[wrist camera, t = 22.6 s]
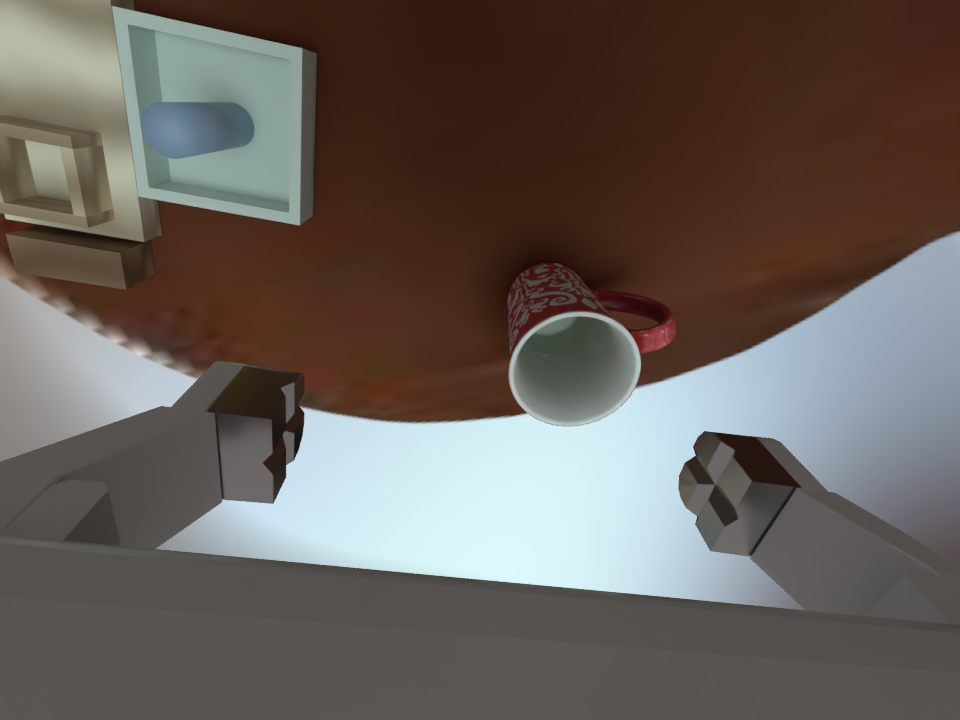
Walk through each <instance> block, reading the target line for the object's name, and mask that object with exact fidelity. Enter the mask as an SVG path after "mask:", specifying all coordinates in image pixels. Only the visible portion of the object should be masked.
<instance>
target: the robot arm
mask: <svg viewBox="0 0 960 720" xmlns="http://www.w3.org/2000/svg"><path fill="white" fill-rule="evenodd" d="M304 394H305V379H304V376H303V374H302V373H296V372H289V371H283V370H277V369H271V368H264V367H258V366H252V365H246V364H240V363H232V362H224V361H218V362H215V363H213V364H212V365H211V366H210V367H209V368H208V370H207V371H206V372H205V373H204V374H203V375H202V376H201V377H200V378H199V379H198V380H197V381H196V382H195V383H194V384H193V385H192V386H191V387H190V388H189V389H188V390H187V391H186V392H185V393H184V394H183V395H182V397H180V399H179V400H177V401H176V403H175V404H174V405H173V406H172V407H164V406H161V407H158V408H155V409H152V410H149V411H146V412H143V413H140V414H137V415H135V416H132V417H129V418H126V419H123V420H120V421H117V422H114V423H111V424H108V425H106V426H103V427H100V428H97V429H94V430H91V431H88V432H85V433H83V434H80V435H77V436H74V437H71V438H68V439H65V440H62V441H59V442H56V443H54V444H51V445H48V446H45V447H42V448H39V449H36V450H33V451H31V452H28V453H25V454H22V455H19V456H16V457H13V458H10V459H7V460H4V461H1V462H0V720H960V565H959V564H958V563H956V562H954V561H953V560H951V559H949V558H947V557H946V556H943V555H942V554H940V553H939V552H937V551H935V550H933V549H932V548H930V547H928V546H927V545H925V544H923V543H921V542H920V541H918V540H916V539H914V538H913V537H911V536H909V535H908V534H906V533H904V532H902V531H901V530H899V529H897V528H895V527H894V526H892V525H890V524H888V523H887V522H885V521H883V520H881V519H880V518H878V517H876V516H875V515H873V514H871V513H869V512H867V511H866V510H864V509H862V508H861V507H859V506H857V505H855V504H854V503H852V502H850V501H849V500H847V499H845V498H843V497H842V496H840V495H838V494H836V493H833V492H828V491H827V490H826V489H825V488H824V487H823V486H822V485H821V484H820V483H819V482H818V481H817V480H816V479H815V477H814V476H813V475H812V474H811V473H810V472H809V471H808V470H807V469H806V468H805V467H804V466H803V465H802V464H801V463H800V462H799V461H798V460H797V459H796V458H795V457H794V456H793V455H792V454H791V453H790V452H789V450H788V449H787V448H786V447H785V446H784V445H783V444H782V443H781V442H779V441H777V440H775V439H772V438H762V437H752V436H742V435H733V434H724V433H715V432H707V431H704V432H703V433H702V434H701V435H700V436H699V437H698V438H697V440H696V442H695V444H694V446H693V448H694V451H695V454H696V456H695V457H693V458H692V459H690V460H689V461H687V462H686V463H685V464H684V466H683V469H682V471H681V473H680V475H679V492H680V497H681V499H682V501H683V503H684V505H685V507H686V508H687V509H689V510H690V511H691V512H692V513H694V514H695V515H696V516H697V520H696V524H695V525H696V526H697V528H698V530H699V532H700V533H701V535H702V537H703V539H704V541H705V542H706V544H707V546H708V548H709V549H710V551H715V552H721V553H729V554H736V555H743V556H751V558H750V559H751V560H752V561H753V562H754V563H756V564H757V565H758V566H759V567H760V568H761V569H762V570H763V571H764V572H765V573H766V574H767V575H768V576H770V577H771V578H772V579H773V580H774V581H775V582H776V583H777V584H778V585H779V586H780V587H781V588H782V589H784V590H785V591H786V592H787V593H788V594H789V595H790V596H791V597H792V598H793V599H794V600H795V601H797V602H798V603H799V604H800V605H801V606H802V607H803V608H804V609H805V610H806V611H805V610H795V609H784V608H774V607H763V606H753V605H742V604H731V603H722V602H710V601H700V600H690V599H680V598H670V597H659V596H648V595H638V594H627V593H616V592H605V591H595V590H584V589H573V588H563V587H552V586H541V585H530V584H520V583H508V582H498V581H487V580H476V579H465V578H455V577H444V576H434V575H423V574H413V573H402V572H391V571H380V570H370V569H359V568H349V567H339V566H327V565H318V564H306V563H296V562H286V561H274V560H264V559H254V558H244V557H233V556H222V555H211V554H201V553H191V552H180V551H170V550H158V549H156V548H157V547H158V546H160V545H161V544H163V543H164V542H166V541H167V540H168V539H170V538H172V537H173V536H174V535H176V534H177V533H179V532H180V531H181V530H183V529H184V528H186V527H187V526H189V525H190V524H191V523H193V522H194V521H196V520H197V519H199V518H200V517H201V516H203V515H204V514H206V513H207V512H209V511H210V510H211V509H213V508H214V507H216V506H217V505H218V504H220V503H221V502H222V499H223V500H236V501H247V502H260V503H274V501H275V499H276V497H277V495H278V493H279V491H280V488H281V487H282V484H283V482H284V480H285V478H286V465H287V464H289V463H290V462H292V461H294V459H295V457H296V454H297V452H298V450H299V446H300V443H301V439H302V435H303V427H304V412H303V411H302V409H301V408H300V407H299V404H300V402H301V400H302V398H303V396H304Z"/></svg>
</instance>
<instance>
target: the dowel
mask: <svg viewBox="0 0 960 720" xmlns="http://www.w3.org/2000/svg"><path fill="white" fill-rule="evenodd" d="M141 127H142V131H143V134H144V137H145V138H146V140H147V142H148V143H149V144H150V146H151V147H152V148H153V149H154V150H155V151H157V152H158V153H160V154H161V155H163V156H165V157H168V158H172V159H181V158H186V157H191V156H196V155H201V154H206V153H212V152H217V151H222V150H227V149H232V148H237V147H242V146H245V145H247V144H248V143H250V142H251V140H252V138H253V136H254V123H253V120H252V118H251V116H250V115H249V113H248V112H247V111H246V110H245V109H244V108H243V107H241V106H240V105H238V104H235V103H230V102H155V103H152V104H150V105H149V106H147V107H146V109H145V110H144V111H143V114H142V117H141Z"/></svg>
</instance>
